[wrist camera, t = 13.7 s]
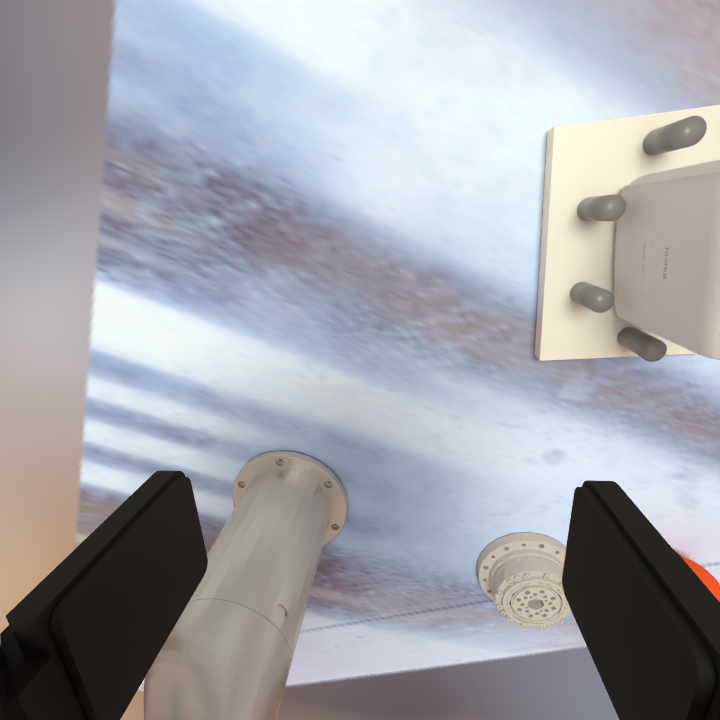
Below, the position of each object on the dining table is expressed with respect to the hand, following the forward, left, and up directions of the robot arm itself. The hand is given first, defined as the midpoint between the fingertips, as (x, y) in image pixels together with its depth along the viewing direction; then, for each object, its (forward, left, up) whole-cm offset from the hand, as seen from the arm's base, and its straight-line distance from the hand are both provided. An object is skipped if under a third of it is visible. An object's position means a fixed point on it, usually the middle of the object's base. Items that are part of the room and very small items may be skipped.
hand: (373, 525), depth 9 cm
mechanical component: (-30, -11, -26) cm, 41 cm away
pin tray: (+3, -18, -26) cm, 31 cm away
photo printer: (+3, -18, -24) cm, 30 cm away
